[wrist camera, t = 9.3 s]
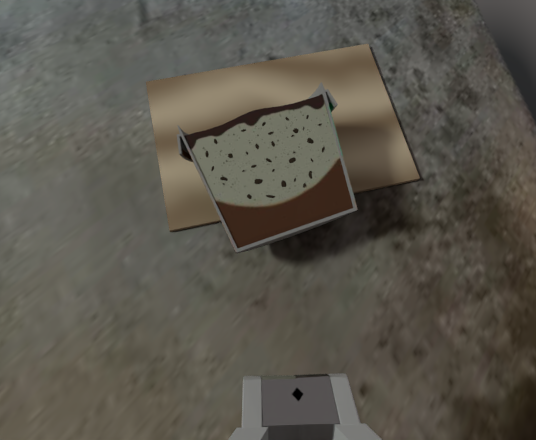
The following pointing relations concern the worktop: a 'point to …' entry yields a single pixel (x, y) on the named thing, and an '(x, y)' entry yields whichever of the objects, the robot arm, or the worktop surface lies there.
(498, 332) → the worktop surface
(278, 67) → the oak board
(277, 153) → the food container
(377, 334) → the worktop surface
